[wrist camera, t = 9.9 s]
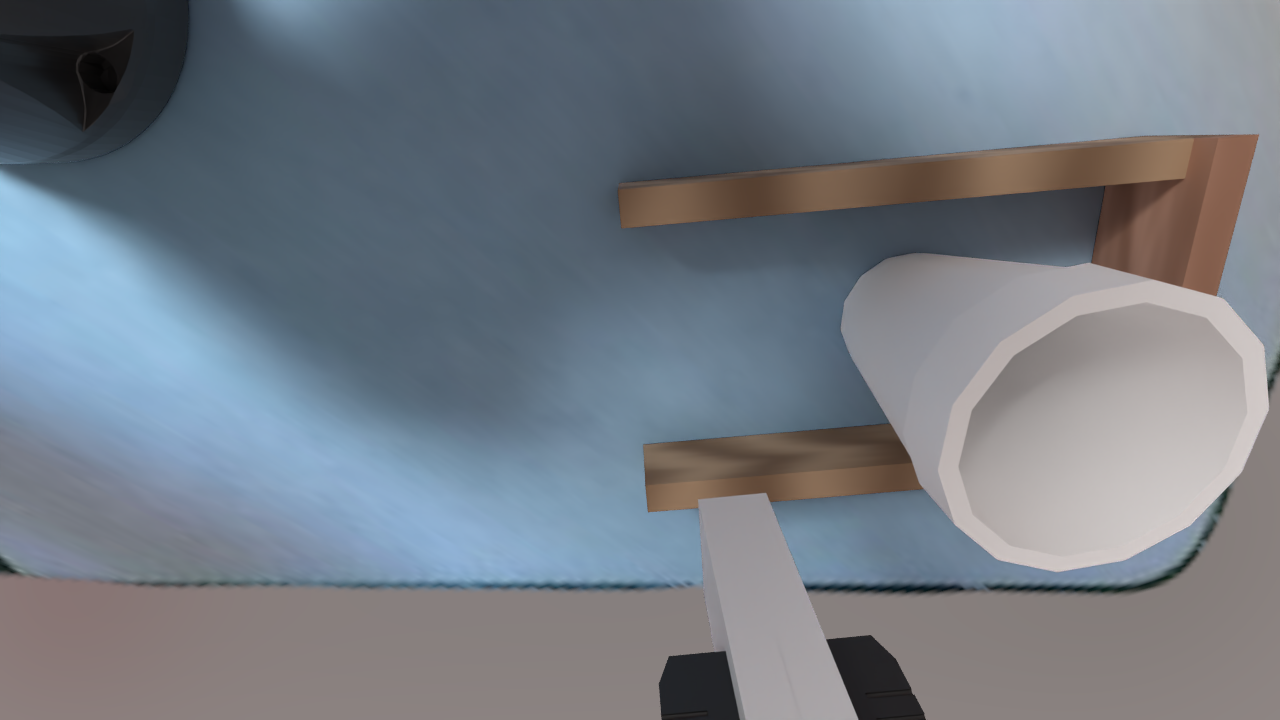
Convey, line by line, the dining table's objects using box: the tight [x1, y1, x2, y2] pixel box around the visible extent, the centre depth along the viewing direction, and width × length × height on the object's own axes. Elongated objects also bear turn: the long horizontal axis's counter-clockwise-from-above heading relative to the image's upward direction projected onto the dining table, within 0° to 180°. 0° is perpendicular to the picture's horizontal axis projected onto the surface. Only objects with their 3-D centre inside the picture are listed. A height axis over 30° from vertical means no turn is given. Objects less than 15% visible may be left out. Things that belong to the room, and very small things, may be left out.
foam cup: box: [840, 252, 1269, 572], centre depth 23 cm, size 10×9×13 cm
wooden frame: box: [618, 135, 1259, 512], centre depth 27 cm, size 24×15×5 cm, turn 95°
